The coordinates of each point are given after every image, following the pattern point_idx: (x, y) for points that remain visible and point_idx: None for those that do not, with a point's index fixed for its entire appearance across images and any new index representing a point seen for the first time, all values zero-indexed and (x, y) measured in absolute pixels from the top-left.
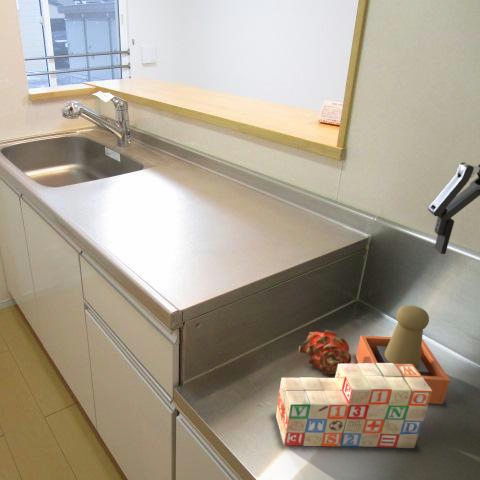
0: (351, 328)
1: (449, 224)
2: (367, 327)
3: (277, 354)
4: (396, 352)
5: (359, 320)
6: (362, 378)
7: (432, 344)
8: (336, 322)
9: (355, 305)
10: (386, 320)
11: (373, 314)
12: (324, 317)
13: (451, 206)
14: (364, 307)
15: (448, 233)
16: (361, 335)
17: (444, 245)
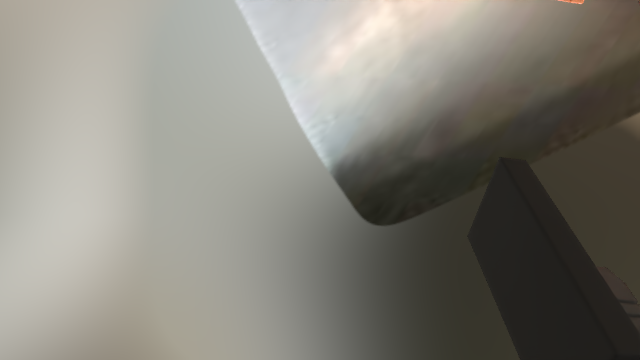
0: (466, 116)
1: (630, 326)
2: (414, 119)
3: None
4: None
5: (417, 153)
6: None
7: (255, 27)
8: (493, 146)
9: (385, 221)
10: (333, 150)
11: (356, 179)
12: None
13: None
14: (364, 211)
15: (578, 263)
16: (580, 3)
17: (541, 197)
